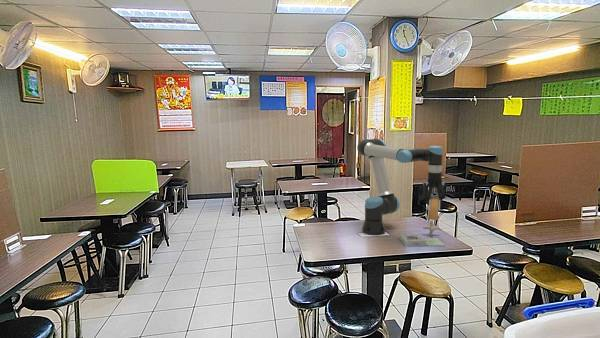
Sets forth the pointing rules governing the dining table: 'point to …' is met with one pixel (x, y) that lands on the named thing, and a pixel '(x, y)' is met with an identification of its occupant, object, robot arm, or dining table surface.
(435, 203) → the orange tall cylinder
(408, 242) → the housing
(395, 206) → the robot arm
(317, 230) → the dining table surface
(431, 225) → the pipe connector
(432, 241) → the mat
